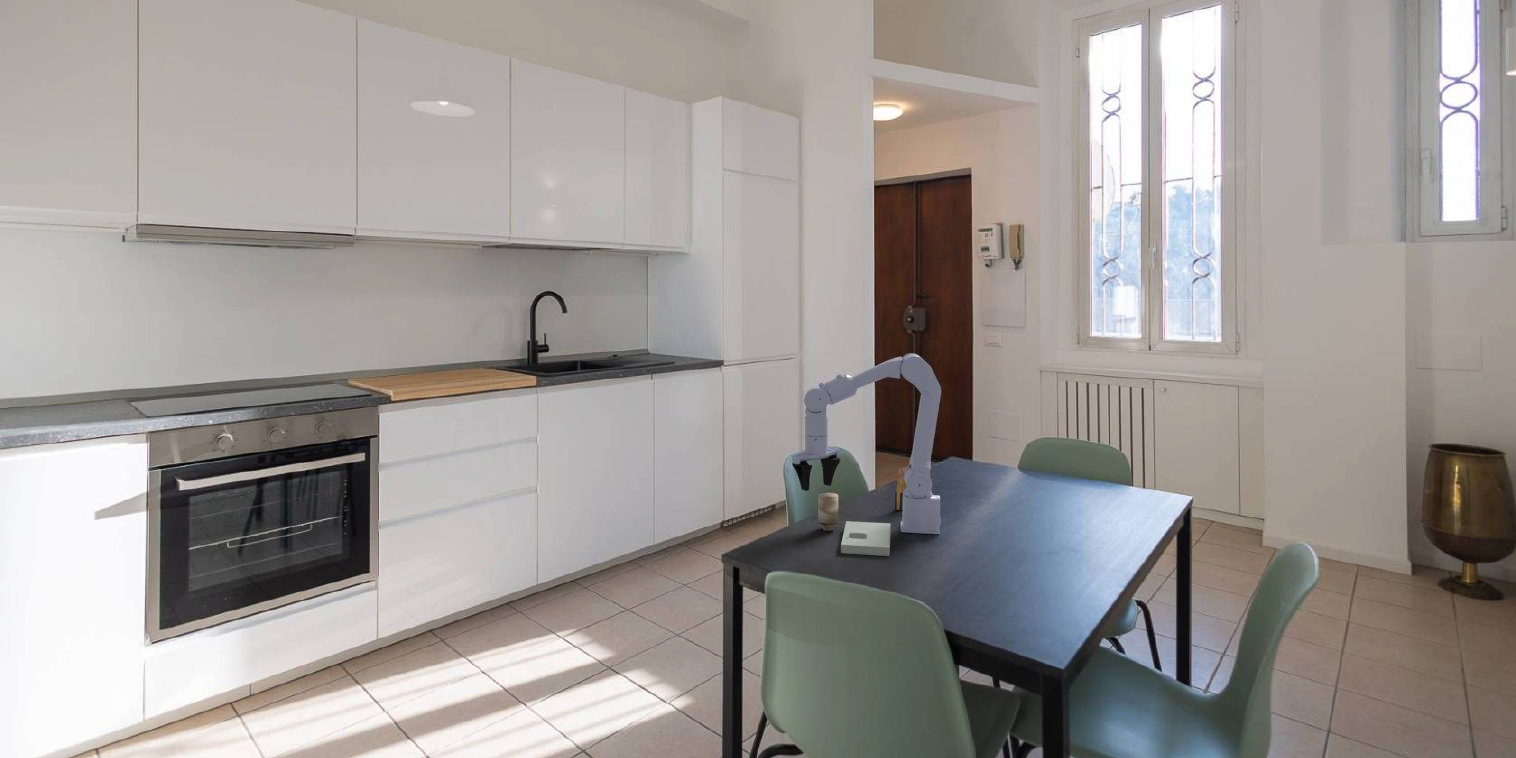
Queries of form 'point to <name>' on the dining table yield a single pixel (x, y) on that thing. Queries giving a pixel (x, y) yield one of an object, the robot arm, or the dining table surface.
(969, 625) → the dining table surface
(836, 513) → the peg
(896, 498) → the ammunition clip
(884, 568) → the dining table surface
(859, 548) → the board
